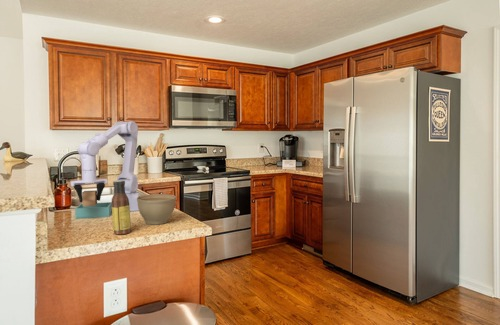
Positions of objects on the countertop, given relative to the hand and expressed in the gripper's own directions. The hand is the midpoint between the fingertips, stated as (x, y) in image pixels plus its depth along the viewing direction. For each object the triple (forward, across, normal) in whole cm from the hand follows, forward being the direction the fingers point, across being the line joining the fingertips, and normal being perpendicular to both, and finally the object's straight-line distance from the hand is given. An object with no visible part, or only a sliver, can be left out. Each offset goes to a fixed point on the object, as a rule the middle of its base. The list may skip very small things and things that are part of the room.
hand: (90, 201), depth 149 cm
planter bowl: (+9, -21, +22) cm, 32 cm away
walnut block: (+2, 0, 0) cm, 2 cm away
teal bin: (+8, -4, -10) cm, 14 cm away
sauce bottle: (+9, -4, +30) cm, 31 cm away
